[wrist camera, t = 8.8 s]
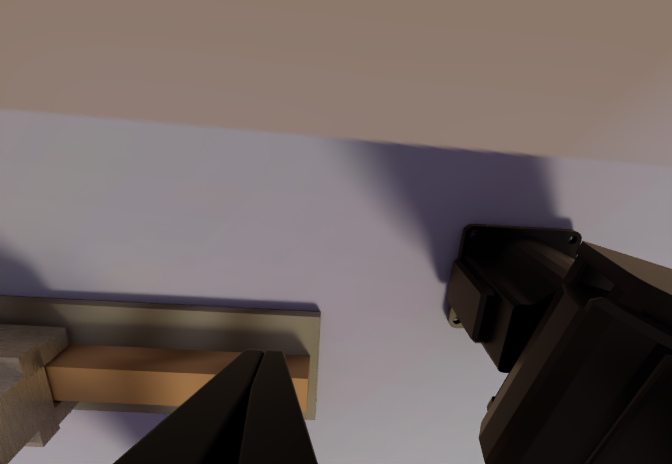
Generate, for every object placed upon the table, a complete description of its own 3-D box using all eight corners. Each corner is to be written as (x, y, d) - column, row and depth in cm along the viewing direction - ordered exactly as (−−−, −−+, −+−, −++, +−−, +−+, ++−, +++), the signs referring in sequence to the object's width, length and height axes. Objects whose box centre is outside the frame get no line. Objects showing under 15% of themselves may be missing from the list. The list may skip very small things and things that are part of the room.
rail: (320, 311, 21) (316, 368, 16) (315, 412, 24) (310, 486, 19) (-44, 293, 21) (-157, 346, 16) (-9, 398, 23) (-98, 470, 18)
